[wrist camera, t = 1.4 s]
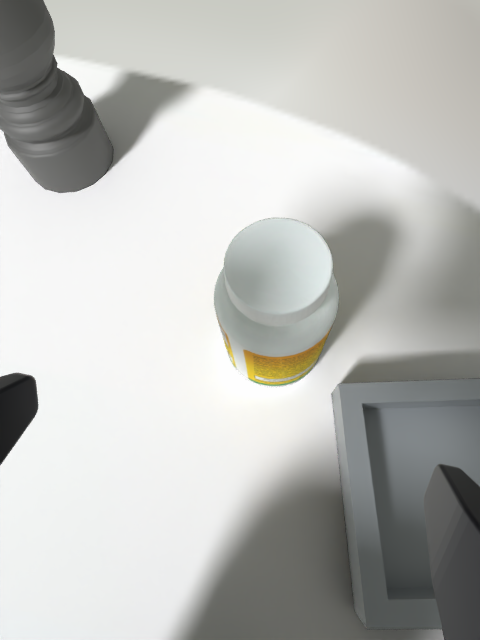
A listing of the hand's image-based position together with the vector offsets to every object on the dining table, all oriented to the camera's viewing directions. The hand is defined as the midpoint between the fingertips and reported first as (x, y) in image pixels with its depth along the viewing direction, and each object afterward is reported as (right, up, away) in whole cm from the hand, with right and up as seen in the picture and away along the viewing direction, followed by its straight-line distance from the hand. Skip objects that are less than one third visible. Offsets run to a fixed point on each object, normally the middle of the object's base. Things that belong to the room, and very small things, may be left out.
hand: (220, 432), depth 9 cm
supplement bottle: (+2, +1, +15) cm, 15 cm away
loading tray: (+11, -6, +11) cm, 17 cm away
